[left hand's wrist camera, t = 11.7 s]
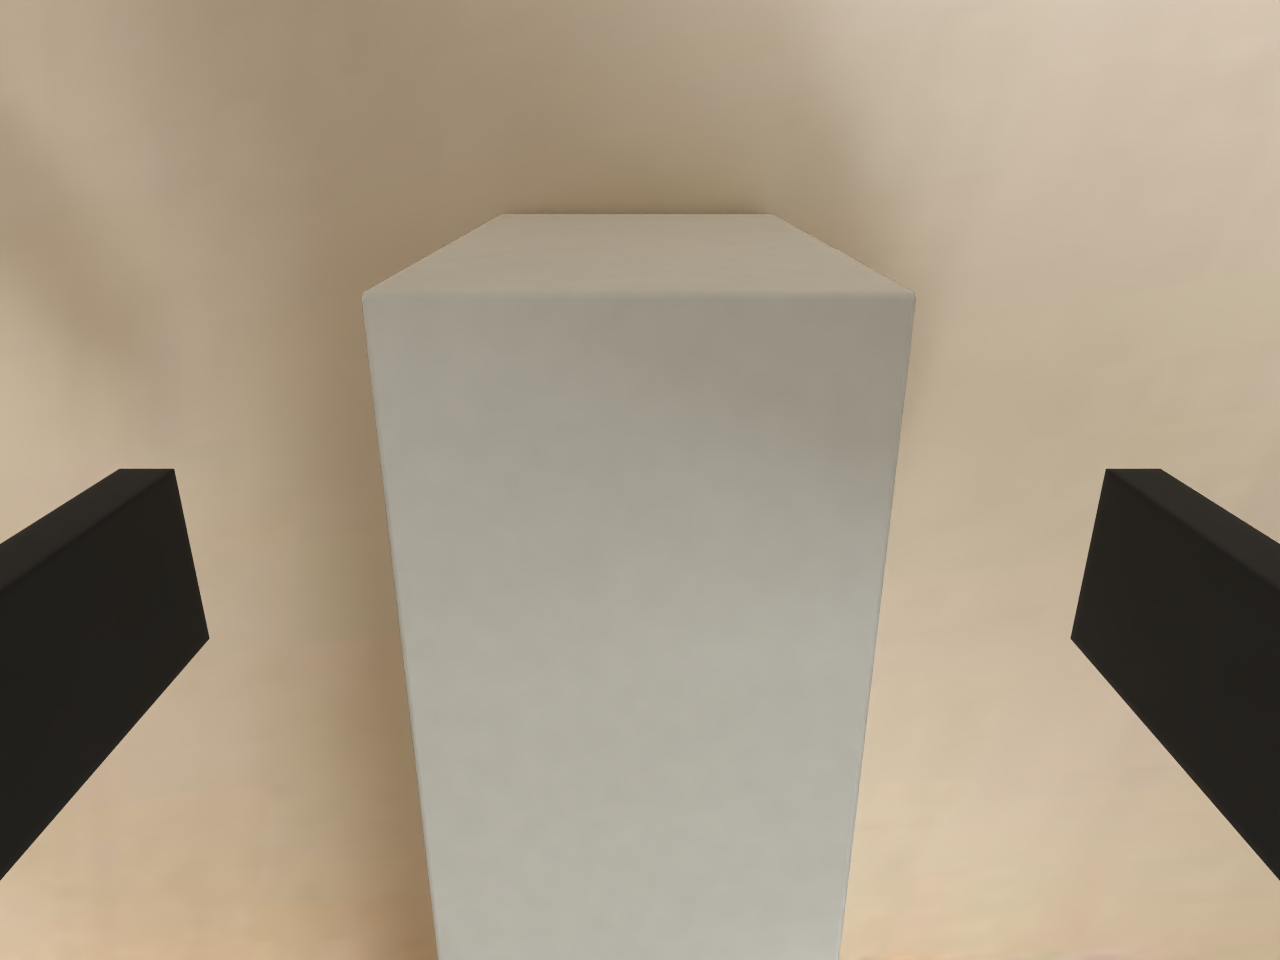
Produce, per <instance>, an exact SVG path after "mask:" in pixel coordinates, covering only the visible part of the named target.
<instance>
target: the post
mask: <svg viewBox="0 0 1280 960" xmlns="http://www.w3.org/2000/svg"><path fill="white" fill-rule="evenodd" d="M361 299H362V308H363V316H364V325H365V334H366V342H367V351H368V360H369V368H370V377H371V386H372V394H373V403H374V412H375V420H376V429H377V437H378V446H379V455H380V463H381V472H382V481H383V489H384V498H385V507H386V515H387V524H388V533H389V541H390V550H391V558H392V567H393V576H394V584H395V593H396V602H397V610H398V619H399V628H400V636H401V645H402V654H403V662H404V671H405V679H406V688H407V697H408V705H409V714H410V723H411V731H412V740H413V749H414V757H415V766H416V775H417V783H418V792H419V800H420V809H421V818H422V826H423V835H424V844H425V852H426V861H427V870H428V878H429V887H430V895H431V904H432V913H433V921H434V930H435V939H436V947H437V956H438V960H839V955H840V946H841V938H842V929H843V921H844V912H845V903H846V895H847V886H848V878H849V869H850V860H851V852H852V843H853V835H854V826H855V817H856V809H857V800H858V792H859V783H860V774H861V766H862V757H863V749H864V740H865V731H866V723H867V714H868V706H869V697H870V688H871V680H872V671H873V663H874V654H875V645H876V637H877V628H878V620H879V611H880V602H881V594H882V585H883V577H884V568H885V559H886V551H887V542H888V534H889V525H890V516H891V508H892V499H893V491H894V482H895V473H896V465H897V456H898V448H899V439H900V430H901V422H902V413H903V405H904V396H905V387H906V379H907V370H908V362H909V353H910V344H911V336H912V327H913V319H914V310H915V301H916V297H915V294H914V292H913V291H911V290H909V289H907V288H906V287H904V286H902V285H900V284H898V283H897V282H895V281H893V280H891V279H889V278H887V277H886V276H884V275H882V274H880V273H878V272H877V271H875V270H873V269H871V268H869V267H868V266H866V265H864V264H862V263H860V262H858V261H857V260H855V259H853V258H851V257H849V256H848V255H846V254H844V253H842V252H840V251H839V250H837V249H835V248H833V247H831V246H829V245H828V244H826V243H824V242H822V241H820V240H819V239H817V238H815V237H813V236H811V235H810V234H808V233H806V232H804V231H802V230H800V229H799V228H797V227H795V226H793V225H791V224H790V223H788V222H786V221H784V220H782V219H781V218H779V217H777V216H775V215H773V214H500V215H498V216H497V217H495V218H493V219H491V220H490V221H488V222H486V223H484V224H483V225H481V226H479V227H477V228H476V229H474V230H472V231H470V232H468V233H467V234H465V235H463V236H461V237H460V238H458V239H456V240H454V241H453V242H451V243H449V244H447V245H446V246H444V247H442V248H440V249H438V250H437V251H435V252H433V253H431V254H430V255H428V256H426V257H424V258H423V259H421V260H419V261H417V262H416V263H414V264H412V265H410V266H409V267H407V268H405V269H403V270H401V271H400V272H398V273H396V274H394V275H393V276H391V277H389V278H387V279H386V280H384V281H382V282H380V283H379V284H377V285H375V286H373V287H372V288H370V289H368V290H366V291H364V292H363V295H362V298H361Z"/></svg>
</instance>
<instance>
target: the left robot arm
mask: <svg viewBox="0 0 1280 960" xmlns="http://www.w3.org/2000/svg"><path fill="white" fill-rule="evenodd" d="M208 640H209V634H208V629H207V625H206V620H205V615H204V610H203V605H202V601H201V596H200V591H199V586H198V581H197V577H196V572H195V567H194V562H193V557H192V553H191V548H190V543H189V538H188V533H187V529H186V524H185V519H184V514H183V509H182V505H181V500H180V495H179V490H178V485H177V481H176V476H175V471H174V469H119V470H117V471H115V472H114V473H112V474H111V475H109V476H107V477H106V478H104V479H103V480H101V481H100V482H98V483H96V484H95V485H93V486H92V487H90V488H88V489H87V490H85V491H84V492H82V493H80V494H79V495H77V496H76V497H74V498H73V499H71V500H69V501H68V502H66V503H65V504H63V505H61V506H60V507H58V508H57V509H55V510H54V511H52V512H50V513H49V514H47V515H46V516H44V517H42V518H41V519H39V520H38V521H36V522H35V523H33V524H31V525H30V526H28V527H27V528H25V529H23V530H22V531H20V532H19V533H17V534H15V535H14V536H12V537H11V538H9V539H8V540H6V541H4V542H3V543H1V544H0V880H1V879H2V878H3V877H4V875H5V874H6V873H7V872H8V871H9V870H10V869H11V867H12V866H13V865H14V864H15V863H16V862H17V860H18V859H19V858H20V857H21V856H22V855H23V854H24V852H25V851H26V850H27V849H28V848H29V847H30V845H31V844H32V843H33V842H34V841H35V840H36V838H37V837H38V836H39V835H40V834H41V833H42V832H43V830H44V829H45V828H46V827H47V826H48V825H49V823H50V822H51V821H52V820H53V819H54V818H55V817H56V815H57V814H58V813H59V812H60V811H61V810H62V808H63V807H64V806H65V805H66V804H67V803H68V801H69V800H70V799H71V798H72V797H73V796H74V795H75V793H76V792H77V791H78V790H79V789H80V788H81V786H82V785H83V784H84V783H85V782H86V781H87V780H88V778H89V777H90V776H91V775H92V774H93V773H94V771H95V770H96V769H97V768H98V767H99V766H100V764H101V763H102V762H103V761H104V760H105V759H106V758H107V756H108V755H109V754H110V753H111V752H112V751H113V749H114V748H115V747H116V746H117V745H118V744H119V742H120V741H121V740H122V739H123V738H124V737H125V736H126V734H127V733H128V732H129V731H130V730H131V729H132V727H133V726H134V725H135V724H136V723H137V722H138V721H139V719H140V718H141V717H142V716H143V715H144V714H145V712H146V711H147V710H148V709H149V708H150V707H151V705H152V704H153V703H154V702H155V701H156V700H157V699H158V697H159V696H160V695H161V694H162V693H163V692H164V690H165V689H166V688H167V687H168V686H169V685H170V684H171V682H172V681H173V680H174V679H175V678H176V677H177V675H178V674H179V673H180V672H181V671H182V670H183V668H184V667H185V666H186V665H187V664H188V663H189V662H190V660H191V659H192V658H193V657H194V656H195V655H196V653H197V652H198V651H199V650H200V649H201V648H202V647H203V645H204V644H205V643H206V642H207V641H208ZM1071 640H1072V641H1073V642H1074V643H1075V644H1076V645H1077V646H1078V648H1079V649H1080V650H1081V651H1082V652H1083V653H1084V655H1085V656H1086V657H1087V658H1088V659H1089V660H1090V662H1091V663H1092V664H1093V665H1094V666H1095V667H1096V668H1097V670H1098V671H1099V672H1100V673H1101V674H1102V675H1103V677H1104V678H1105V679H1106V680H1107V681H1108V682H1109V684H1110V685H1111V686H1112V687H1113V688H1114V689H1115V690H1116V692H1117V693H1118V694H1119V695H1120V696H1121V697H1122V699H1123V700H1124V701H1125V702H1126V703H1127V704H1128V705H1129V707H1130V708H1131V709H1132V710H1133V711H1134V712H1135V714H1136V715H1137V716H1138V717H1139V718H1140V719H1141V721H1142V722H1143V723H1144V724H1145V725H1146V726H1147V727H1148V729H1149V730H1150V731H1151V732H1152V733H1153V734H1154V736H1155V737H1156V738H1157V739H1158V740H1159V741H1160V742H1161V744H1162V745H1163V746H1164V747H1165V748H1166V749H1167V751H1168V752H1169V753H1170V754H1171V755H1172V756H1173V758H1174V759H1175V760H1176V761H1177V762H1178V763H1179V764H1180V766H1181V767H1182V768H1183V769H1184V770H1185V771H1186V773H1187V774H1188V775H1189V776H1190V777H1191V778H1192V779H1193V781H1194V782H1195V783H1196V784H1197V785H1198V786H1199V788H1200V789H1201V790H1202V791H1203V792H1204V793H1205V795H1206V796H1207V797H1208V798H1209V799H1210V800H1211V801H1212V803H1213V804H1214V805H1215V806H1216V807H1217V808H1218V810H1219V811H1220V812H1221V813H1222V814H1223V815H1224V817H1225V818H1226V819H1227V820H1228V821H1229V822H1230V823H1231V825H1232V826H1233V827H1234V828H1235V829H1236V830H1237V832H1238V833H1239V834H1240V835H1241V836H1242V837H1243V838H1244V840H1245V841H1246V842H1247V843H1248V844H1249V845H1250V847H1251V848H1252V849H1253V850H1254V851H1255V852H1256V854H1257V855H1258V856H1259V857H1260V858H1261V859H1262V860H1263V862H1264V863H1265V864H1266V865H1267V866H1268V867H1269V869H1270V870H1271V871H1272V872H1273V873H1274V874H1275V875H1276V877H1277V878H1278V879H1279V880H1280V544H1279V543H1277V542H1276V541H1274V540H1272V539H1271V538H1269V537H1268V536H1266V535H1265V534H1263V533H1261V532H1260V531H1258V530H1257V529H1255V528H1253V527H1252V526H1250V525H1249V524H1247V523H1245V522H1244V521H1242V520H1241V519H1239V518H1238V517H1236V516H1234V515H1233V514H1231V513H1230V512H1228V511H1226V510H1225V509H1223V508H1222V507H1220V506H1219V505H1217V504H1215V503H1214V502H1212V501H1211V500H1209V499H1207V498H1206V497H1204V496H1203V495H1201V494H1200V493H1198V492H1196V491H1195V490H1193V489H1192V488H1190V487H1188V486H1187V485H1185V484H1184V483H1182V482H1181V481H1179V480H1177V479H1176V478H1174V477H1173V476H1171V475H1169V474H1168V473H1166V472H1165V471H1163V470H1161V469H1106V471H1105V476H1104V481H1103V486H1102V490H1101V495H1100V500H1099V505H1098V509H1097V514H1096V519H1095V524H1094V529H1093V533H1092V538H1091V543H1090V548H1089V553H1088V557H1087V562H1086V567H1085V572H1084V577H1083V581H1082V586H1081V591H1080V596H1079V601H1078V605H1077V610H1076V615H1075V620H1074V625H1073V629H1072V634H1071Z"/></svg>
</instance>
